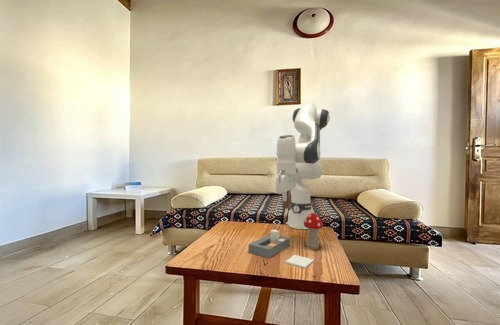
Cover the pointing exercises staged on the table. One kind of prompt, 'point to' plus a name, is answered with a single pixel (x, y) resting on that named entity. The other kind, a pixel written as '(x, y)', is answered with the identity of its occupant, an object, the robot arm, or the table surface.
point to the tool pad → (299, 261)
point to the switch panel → (268, 246)
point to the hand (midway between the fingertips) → (286, 200)
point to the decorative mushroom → (313, 230)
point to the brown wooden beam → (286, 203)
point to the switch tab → (274, 235)
